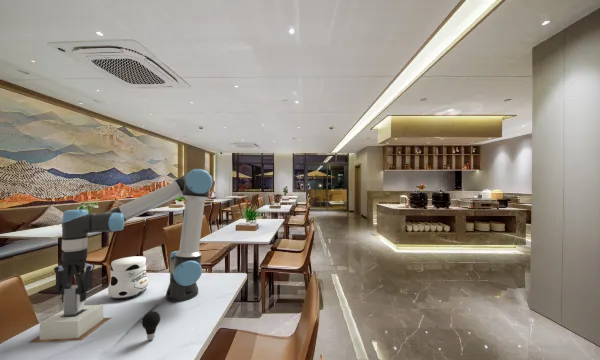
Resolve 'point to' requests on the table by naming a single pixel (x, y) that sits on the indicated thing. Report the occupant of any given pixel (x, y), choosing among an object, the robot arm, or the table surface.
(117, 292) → the milk container
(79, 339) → the board
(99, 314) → the well
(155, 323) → the light bulb
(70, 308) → the brushed grey pillar
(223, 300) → the table surface
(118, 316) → the table surface
